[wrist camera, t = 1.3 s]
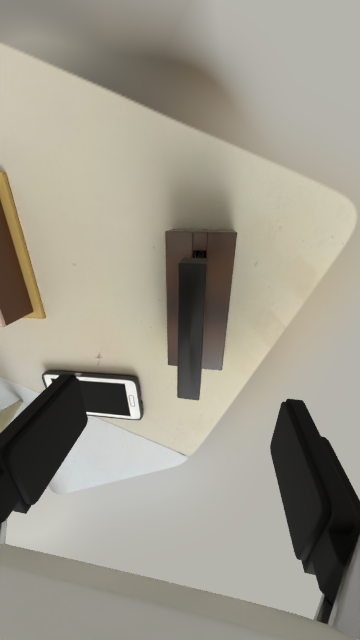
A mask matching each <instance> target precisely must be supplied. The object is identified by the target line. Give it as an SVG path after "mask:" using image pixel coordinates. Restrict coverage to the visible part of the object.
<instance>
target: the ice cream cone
mask: <svg viewBox="0 0 360 640" xmlns="http://www.w3.org/2000/svg"><path fill="white" fill-rule="evenodd" d="M22 402H23V401H22V400H19V401H17V402H16V403H14V404H12V405H10V406H8V407H7V408H5V409H3V410H1V411H0V433H1V432H2V431H3V430H4V429H5V428H6V427H7V426H8V425H9V423H10V421H11V420H12V418H13V417H14V415H15V413H16V412H17V410H18V408H19V407H20V405H21V404H22Z"/></svg>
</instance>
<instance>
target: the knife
mask: <svg viewBox="0 0 360 640" xmlns="http://www.w3.org/2000/svg"><path fill="white" fill-rule="evenodd" d="M203 256H204V251H200V252H199V254H198V256H197V258H182V260H181V261H180V262H179V263H178V382H177V397H178V398H184V399H192V400H199V396H200V385H201V371H202V355H203V338H204V322H205V306H206V290H207V273H208V258H203Z"/></svg>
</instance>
